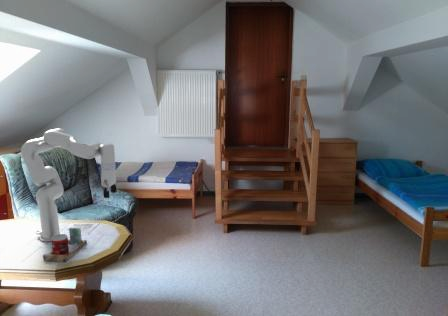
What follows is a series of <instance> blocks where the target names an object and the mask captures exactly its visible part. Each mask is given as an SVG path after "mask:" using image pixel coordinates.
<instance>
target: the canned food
mask: <svg viewBox="0 0 448 316" xmlns="http://www.w3.org/2000/svg"><path fill="white" fill-rule="evenodd" d="M68 239H69V238H68V235H67V234H65V233H63V234H58V235H55V236H53V237H52V238H51V241H50V242H51V251H53V254H56V255H68V254H69V253H70V249H69V243H68Z"/></svg>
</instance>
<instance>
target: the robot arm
mask: <svg viewBox="0 0 448 316" xmlns="http://www.w3.org/2000/svg"><path fill="white" fill-rule="evenodd" d="M55 148H60V149H64V150H66V151H68V152H69V153H70V154H73V156H76V157H79V158H82V159H87V160H91V159H94V158H97V157H99V156H100V167H101V168H100V169H101V174H100V176H101V178H100V180H101V181H100V183H101V189H102V195H103V198H104V199H109V198H110V193H113V194H114V193H115V194H116V193H117V174H116V156H115V155H116V154H115V151H116V150H115V145H114V144H112V143H101V142H94V143H90V144H83V143H81V142H78V141H77V139H76V137H75V136H74V135H72V134H68V132H67V131H66V130H65V129H63V128H59V127H58V128H54V129H53V128H52V129H49V130H47V131H45V132H44V133H43V136H42V137H39V138H33V139H29V140H27V141H26V142H24V143H23V144H22V146H21V149H20V154H21V157H22V160H23V162H24V163H25V165H26V167H27V171H28V173H29V176H30V178H31V180H32V183H33V184H34V185H35V186H37V187H39V186H43V187H41V188H39V189H38V190H37V191H36V194H35V199H36V203H37V205H38V211H39V218H40V227H41V228H40V229H37V230H36V235H39V240H40V241H41V242H45V243H46V242H47V243H48V242H51V238H52V237H53V236H55V235H58V234H64V233H63V232H62V231H60V223H59V222H60V221H59V214H58V206H57V205H56V203H55V200H57V199H59V198H60V197H63V194H64V191H65V190H64V185H63V182H62V181H61V178H60V176H59V173H58V171H57V170H56V168H55V167H54V166H51V165H47V166H45V164H44V161H43V160H42V158H41V157H40V156H39V154H43V153H46V152H49V151H51V150H53V149H55ZM44 185H45V186H44ZM109 190H110V191H109Z"/></svg>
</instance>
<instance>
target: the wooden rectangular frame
mask: <svg viewBox="0 0 448 316" xmlns="http://www.w3.org/2000/svg"><path fill="white" fill-rule="evenodd" d="M68 230H69V233H68V234H69V238H68V244H73V245H74V244H78V245H77V246H76V247H75V248H73V249H72V251H71V252H70V251H69V254H68V255H56V254H53V250H51V251H50V252H49V253H44V254H43V255H42V260H43V261H44V262H61V263H62V262H63V263H65V262H68V261H69V260H70V258H71V257H72V256H74V255H75V254H76V253H78V251H79V250H81V249H82V248H83V247H84V246H85V245H86V244H88V240H87V239H82V228H81V227H69V228H68Z"/></svg>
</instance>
